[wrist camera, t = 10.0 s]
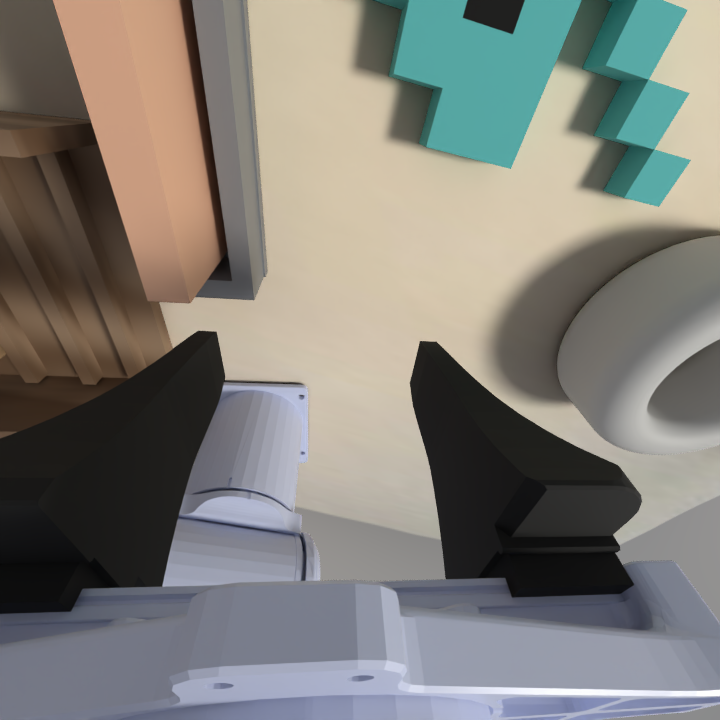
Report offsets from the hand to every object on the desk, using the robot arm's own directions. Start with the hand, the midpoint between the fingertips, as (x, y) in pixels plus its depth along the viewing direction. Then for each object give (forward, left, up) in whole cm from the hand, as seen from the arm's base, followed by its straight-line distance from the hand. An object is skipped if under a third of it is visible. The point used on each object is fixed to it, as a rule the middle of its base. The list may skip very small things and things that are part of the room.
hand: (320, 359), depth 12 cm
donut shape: (-4, -25, -11) cm, 27 cm away
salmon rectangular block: (+6, +6, -10) cm, 13 cm away
